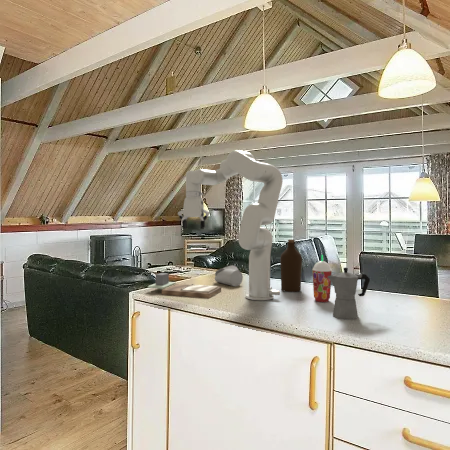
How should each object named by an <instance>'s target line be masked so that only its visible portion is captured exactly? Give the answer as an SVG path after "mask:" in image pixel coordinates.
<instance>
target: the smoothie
mask: <svg viewBox="0 0 450 450" xmlns="http://www.w3.org/2000/svg"><path fill="white" fill-rule="evenodd" d="M320 256H321V257H320V258H321V260H320V261H317V262H316V263H315V264H314V265H313V267H312V269H311V270H312V286H313V289H312V290H313V298H314V300H315V301H316V302H318V303H328V302H329V300H330V298H331V288H332V282H331V280H330V279H329V278H327V277H328V276H330V275H333V273H332V272H333V269H332V267H331V265H330V264H329V263H328V262H327V261H325V260H324V255H323V254H321V255H320Z"/></svg>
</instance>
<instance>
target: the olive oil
mask: <svg viewBox="0 0 450 450" xmlns="http://www.w3.org/2000/svg"><path fill="white" fill-rule="evenodd" d="M295 241H296V240H295V239H287V248H286V249H284V251H283V252H282V253H281V254H280V259H279V261H280V262H279V263H280V281H281V282H280V283H281V284H280V285H281V287H280V288H281V289H280V290H281V291H282V292H286V293H299V292H301V289H302V286H301V285H302V271H303V270H302V268H303V258H302V257H303V256H302V254H301V253H300V252H299V251H298V250H297V248H296V245H295V243H296V242H295Z"/></svg>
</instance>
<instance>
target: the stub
mask: <svg viewBox="0 0 450 450" xmlns="http://www.w3.org/2000/svg"><path fill="white" fill-rule="evenodd" d="M169 278H170V277H169V272H168V273H167V272H160V273H156V274H155V283H153V284H151V285H150V284H149V285H148V286H147V289H159V290H163V289H165V288H168V287H170V286H173V285H175V284H177V283H176V282H175V281H170V279H169Z"/></svg>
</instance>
